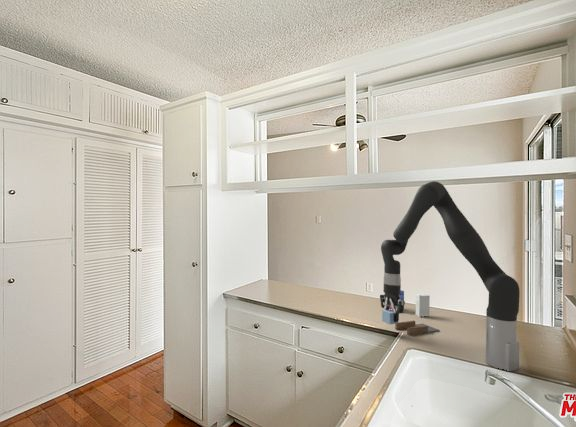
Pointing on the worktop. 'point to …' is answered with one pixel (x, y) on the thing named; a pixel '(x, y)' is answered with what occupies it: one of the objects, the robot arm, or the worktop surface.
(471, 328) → the worktop surface
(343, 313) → the worktop surface
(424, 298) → the skincare box
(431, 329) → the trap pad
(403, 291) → the ink cartridge box
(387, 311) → the block
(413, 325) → the channel
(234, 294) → the worktop surface
